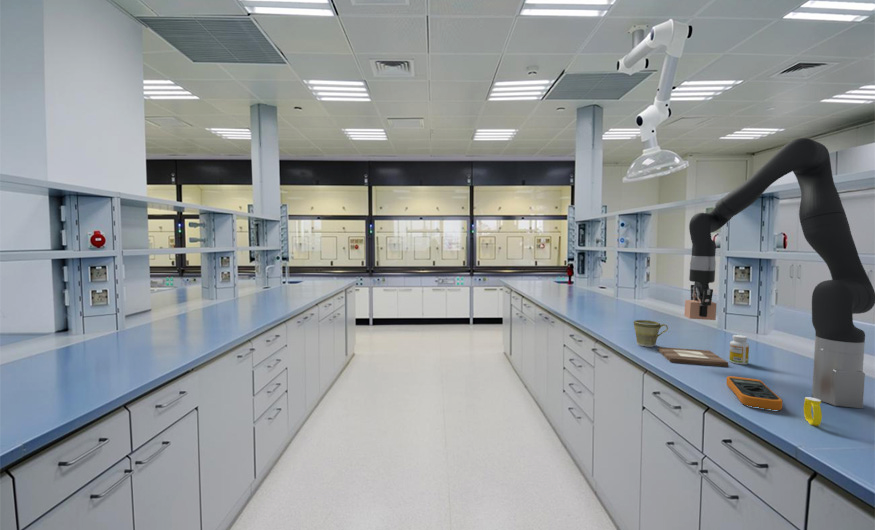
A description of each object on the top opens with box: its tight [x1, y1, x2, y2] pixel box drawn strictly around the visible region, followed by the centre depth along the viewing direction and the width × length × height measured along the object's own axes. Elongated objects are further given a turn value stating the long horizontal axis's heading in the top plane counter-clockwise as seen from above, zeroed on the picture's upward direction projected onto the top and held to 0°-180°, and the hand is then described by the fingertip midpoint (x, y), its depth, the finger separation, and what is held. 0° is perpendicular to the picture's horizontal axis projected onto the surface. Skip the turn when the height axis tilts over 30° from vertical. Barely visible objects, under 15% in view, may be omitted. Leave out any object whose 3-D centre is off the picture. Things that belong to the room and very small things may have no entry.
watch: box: [803, 396, 823, 427], centre depth 90 cm, size 6×3×6 cm, turn 153°
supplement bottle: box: [729, 334, 750, 365], centre depth 138 cm, size 5×5×10 cm
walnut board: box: [657, 346, 729, 368], centre depth 143 cm, size 16×18×2 cm
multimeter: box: [726, 375, 783, 411], centre depth 106 cm, size 9×18×3 cm, turn 155°
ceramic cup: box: [633, 319, 669, 348], centre depth 161 cm, size 13×10×10 cm
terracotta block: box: [683, 299, 717, 321], centre depth 138 cm, size 6×8×6 cm
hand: (699, 314), depth 138 cm, fingers closed on terracotta block, 5 cm apart
